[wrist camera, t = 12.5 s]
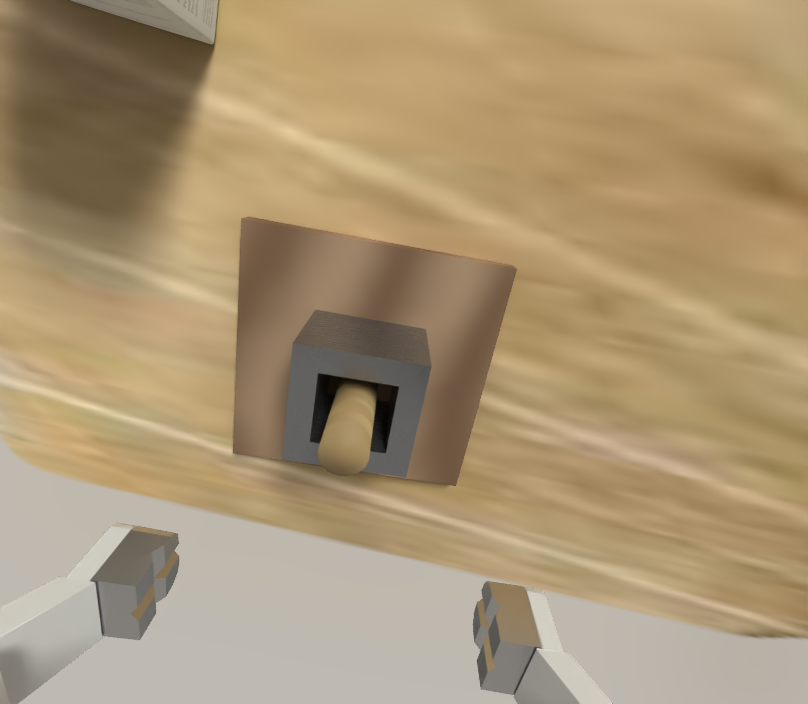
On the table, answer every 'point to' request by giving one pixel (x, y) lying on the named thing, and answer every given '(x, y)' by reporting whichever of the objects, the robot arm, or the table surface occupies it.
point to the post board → (372, 299)
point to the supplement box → (166, 15)
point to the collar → (363, 360)
